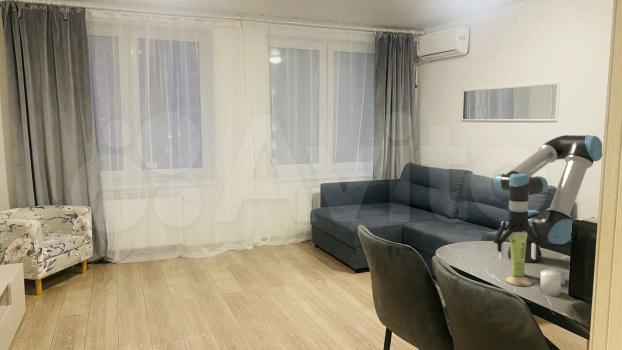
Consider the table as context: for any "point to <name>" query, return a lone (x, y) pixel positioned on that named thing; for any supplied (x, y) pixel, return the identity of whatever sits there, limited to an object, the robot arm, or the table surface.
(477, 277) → the table surface
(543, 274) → the white rounded cylinder
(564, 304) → the table surface
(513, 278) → the trivet
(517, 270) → the tube
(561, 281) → the box
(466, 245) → the table surface
